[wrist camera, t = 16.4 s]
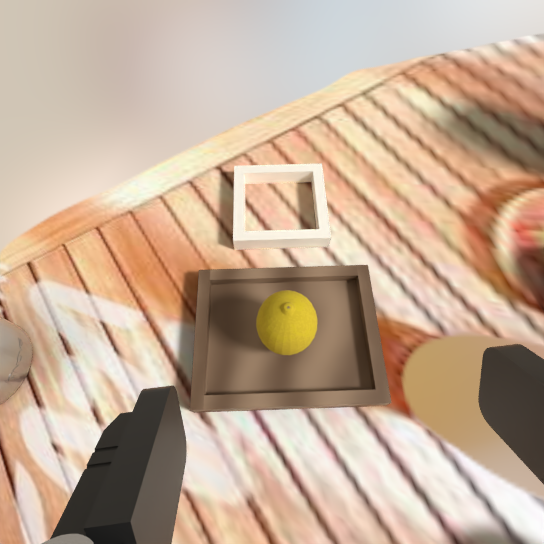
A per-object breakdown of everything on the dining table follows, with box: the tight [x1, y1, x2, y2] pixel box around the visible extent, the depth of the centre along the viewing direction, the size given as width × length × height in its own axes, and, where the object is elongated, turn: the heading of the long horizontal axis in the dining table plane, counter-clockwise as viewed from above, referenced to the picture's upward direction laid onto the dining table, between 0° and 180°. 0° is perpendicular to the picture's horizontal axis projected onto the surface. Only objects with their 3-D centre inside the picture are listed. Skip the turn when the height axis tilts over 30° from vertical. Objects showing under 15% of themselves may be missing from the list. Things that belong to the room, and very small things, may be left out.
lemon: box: [256, 290, 317, 355], centre depth 33 cm, size 6×6×8 cm
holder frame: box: [233, 164, 331, 250], centre depth 44 cm, size 11×11×2 cm
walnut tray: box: [190, 265, 391, 412], centre depth 37 cm, size 18×14×2 cm
